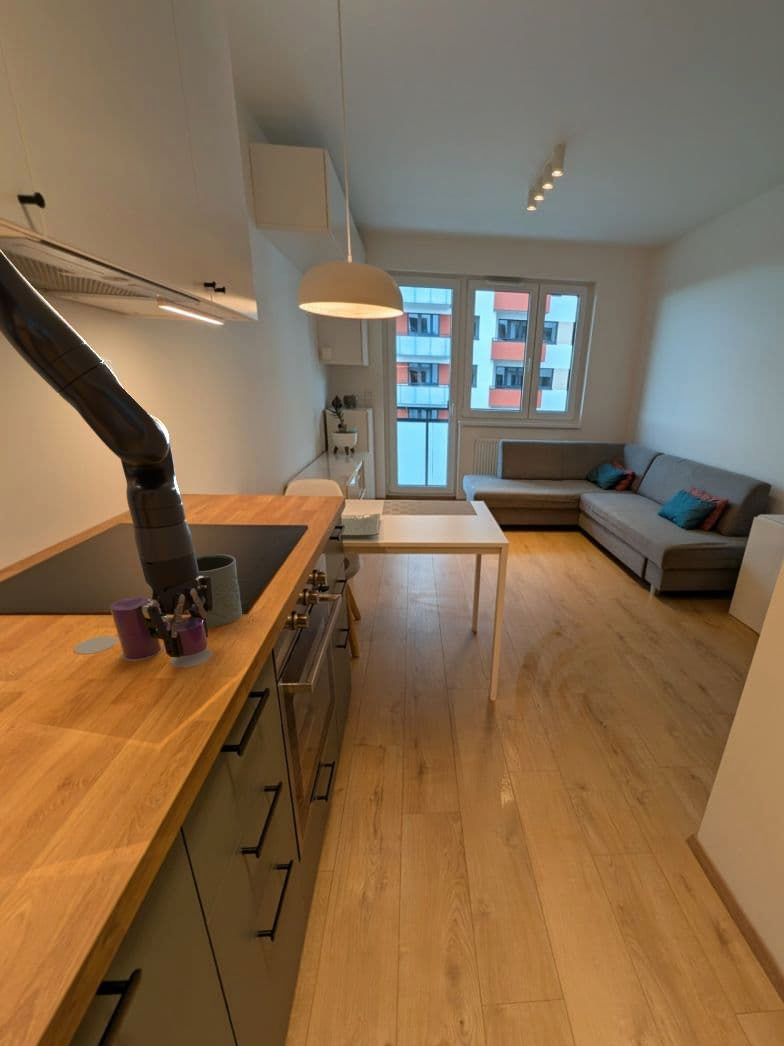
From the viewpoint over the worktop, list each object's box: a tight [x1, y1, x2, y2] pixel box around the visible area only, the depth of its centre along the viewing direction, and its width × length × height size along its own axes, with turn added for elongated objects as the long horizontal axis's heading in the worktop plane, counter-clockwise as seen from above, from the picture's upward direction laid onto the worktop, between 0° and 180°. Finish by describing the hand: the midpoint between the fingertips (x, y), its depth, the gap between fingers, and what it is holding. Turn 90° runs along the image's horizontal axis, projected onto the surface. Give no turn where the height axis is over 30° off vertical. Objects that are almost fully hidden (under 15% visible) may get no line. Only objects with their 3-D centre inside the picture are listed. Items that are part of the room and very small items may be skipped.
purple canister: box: [167, 616, 209, 656], centre depth 84 cm, size 6×6×4 cm
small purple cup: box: [116, 629, 161, 659], centre depth 86 cm, size 6×6×4 cm
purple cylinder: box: [109, 596, 151, 635], centre depth 84 cm, size 6×6×4 cm
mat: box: [73, 635, 213, 669], centre depth 87 cm, size 26×12×1 cm, turn 78°
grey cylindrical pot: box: [196, 553, 243, 628], centre depth 97 cm, size 10×10×12 cm
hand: (189, 646), depth 84 cm, fingers closed on purple canister, 5 cm apart
